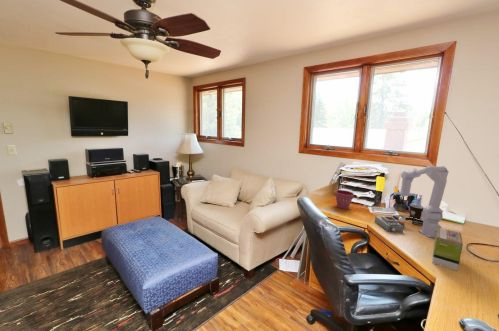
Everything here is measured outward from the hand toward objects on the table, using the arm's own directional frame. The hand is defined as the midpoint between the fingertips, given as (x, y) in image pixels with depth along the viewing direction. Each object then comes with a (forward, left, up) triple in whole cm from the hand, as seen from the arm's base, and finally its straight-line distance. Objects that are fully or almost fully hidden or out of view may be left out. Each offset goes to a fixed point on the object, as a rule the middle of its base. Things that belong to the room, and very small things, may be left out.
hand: (403, 204), depth 174 cm
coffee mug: (0, -9, -10) cm, 14 cm away
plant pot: (+19, +37, -10) cm, 43 cm away
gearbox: (-17, +20, -10) cm, 28 cm away
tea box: (-57, +14, -10) cm, 60 cm away
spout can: (-15, +10, -10) cm, 21 cm away
